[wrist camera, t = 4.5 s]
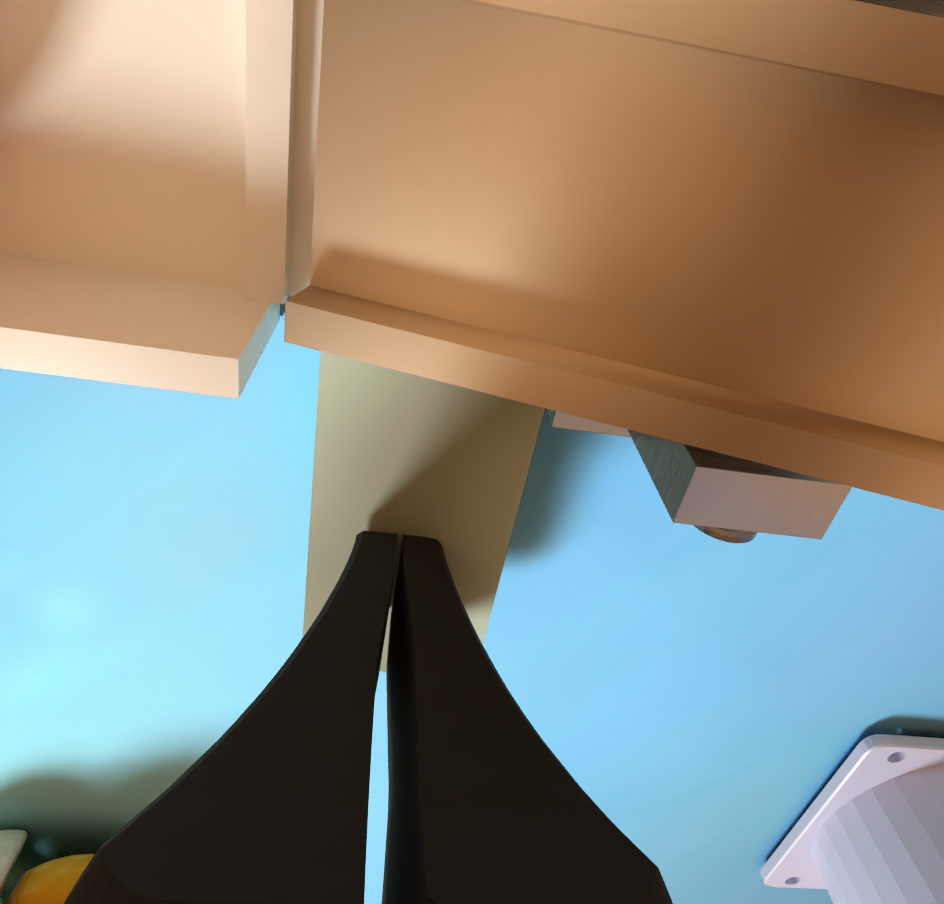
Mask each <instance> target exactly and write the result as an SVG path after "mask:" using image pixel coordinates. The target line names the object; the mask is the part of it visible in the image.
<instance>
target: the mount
mask: <svg viewBox="0 0 944 904" xmlns="http://www.w3.org/2000/svg"><path fill="white" fill-rule="evenodd" d="M854 1H859V2H864V3H869V4H874V5H879V6H885V7H890V8H895V9H900V10H905V11H910V12H915V13H921V14H926V15H931V16H936V17H941V18H944V0H854ZM547 412H548V416H549V419H550V422H551V425H552V427H557V428H565V429H573V430H580V431H588V432H596V433H604V434H611V435H619V436H627V437H631V438H632V440H633V442H634V444H635V446H636V448H637V450H638V452H639V454H640V456H641V458H642V460H643V462H644V464H645V466H646V468H647V470H648V472H649V474H650V477H651V479H652V481H653V483H654V485H655V487H656V489H657V491H658V493H659V495H660V497H661V499H662V501H663V503H664V505H665V507H666V509H667V511H668V513H669V515H670V517H671V519H672V521H673V523H681V524H690V525H694V526H695V527H696V528H697V529H699V530H700V531H702V532H703V533H705V534H707V535H709V536H711V537H713V538H716V539H719V540H722V541H726V542H731V543H745V542H749V541H751V540H753V539H754V538H755V536H756V534H757V532H761V533H770V534H779V535H788V536H797V537H806V538H815V539H822V537H823V536H824V534H825V532H826V531H827V529H828V527H829V525H830V524H831V522H832V520H833V518H834V517H835V515H836V513H837V512H838V510H839V508H840V506H841V505H842V503H843V501H844V500H845V498H846V496H847V494H848V493H849V491H850V489H851V486H847V485H843V484H839V483H835V482H831V481H828V480H824V479H820V478H816V477H812V476H808V475H804V474H800V473H796V472H792V471H788V470H785V469H781V468H777V467H773V466H769V465H765V464H761V463H757V462H753V461H749V460H745V459H742V458H738V457H734V456H730V455H726V454H722V453H718V452H714V451H710V450H706V449H702V448H699V447H695V446H691V445H687V444H683V443H679V442H675V441H671V440H667V439H663V438H659V437H656V436H652V435H648V434H644V433H640V432H636V431H632V430H628V429H624V428H620V427H616V426H613V425H609V424H605V423H601V422H597V421H593V420H589V419H585V418H581V417H577V416H573V415H570V414H566V413H562V412H558V411H554V410H550V409H547Z"/></svg>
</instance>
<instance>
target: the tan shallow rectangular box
mask: <svg viewBox="0 0 944 904" xmlns="http://www.w3.org/2000/svg"><path fill="white" fill-rule="evenodd" d="M323 9H324V0H0V368H3V369H11V370H19V371H27V372H35V373H43V374H50V375H58V376H66V377H74V378H82V379H90V380H98V381H105V382H113V383H121V384H129V385H137V386H145V387H152V388H160V389H168V390H176V391H184V392H192V393H199V394H207V395H215V396H223V397H231V398H239V397H240V395H241V393H242V391H243V389H244V387H245V385H246V383H247V381H248V379H249V378H250V376H251V374H252V372H253V370H254V368H255V366H256V364H257V362H258V360H259V358H260V356H261V354H262V353H263V351H264V349H265V347H266V345H267V343H268V341H269V339H270V337H271V335H272V333H273V331H274V330H275V328H276V326H277V324H278V322H279V320H280V304H283V305H284V303H285V302H286V300H287V298H288V296H290V297H293V296H294V295H296V294H297V293H299V292H300V291H302V290H303V289H305V288H306V287H308V286H309V285H310V266H311V247H312V227H313V207H314V187H315V168H316V148H317V128H318V108H319V88H320V69H321V49H322V29H323Z"/></svg>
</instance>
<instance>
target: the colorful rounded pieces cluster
mask: <svg viewBox="0 0 944 904" xmlns="http://www.w3.org/2000/svg"><path fill="white" fill-rule="evenodd" d="M26 838H27V832H26V831H24V830H16V829H9V830H0V904H1V902H2V899H1V895H2V893H3V891H4V889H5V887H6V880H7V878H8V876H9V874H10V872H11V870H12V868H13V866H14V864H15V862H16V860H17V858H18V856H19V854H20V852H21V850H22V848H23V845H24V843H25V841H26ZM94 855H95V854H80V855H71V856H66V857H62V858H57V859H54V860H51V861H48V862H45V863H43V864H40V865H38V866H36V867H34V868H32V869H29V870H28V871H26V872H25V873H24V874H23V875H22V877H21V878H20V879H19V880H18V882H17V883H16V885H15V887H14V888H13V890H12V892H11V893H10V895H9V897H8V899H7V901H6V902H5V904H64V902H65V900H66V898H67V897H68V895H69V894H70V892H71V890H72V889H73V887H74V885H75V884H76V882H77V880H78V879H79V877H80V876H81V874H82V873H83V871H84V870H85V868H86V867H87V865H88V864H89V862H90V861H91V859H92V858H93V856H94Z"/></svg>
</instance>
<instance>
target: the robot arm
mask: <svg viewBox="0 0 944 904" xmlns="http://www.w3.org/2000/svg"><path fill="white" fill-rule="evenodd" d="M396 562H397V534H393V533H383V532H373V531H362V532H360V533H359V534H357V536H356V540H355V544H354V546H353V549H352V552H351V555H350V557H349V559H348V562H347V564H346V566H345V568H344V570H343V572H342V574H341V576H340V578H339V580H338V582H337V584H336V585H335V587H334V589H333V591H332V592H331V594H330V596H329V598H328V599H327V601H326V603H325V605H324V606H323V608H322V610H321V611H320V613H319V615H318V616H317V618H316V619H315V621H314V622H313V624H312V625H311V627H310V628H309V630H308V631H307V632H306V634H305V635H304V637H303V638H302V640H301V641H300V643H299V644H298V646H297V647H296V649H295V650H294V651H293V653H292V654H291V655H290V657H289V658H288V659H287V661H286V662H285V663H284V665H283V666H282V667H281V669H280V670H279V671H278V673H277V674H276V675H275V676H274V677H273V679H272V680H271V681H270V682H269V684H268V685H267V686H266V687H265V689H264V690H263V691H262V692H261V693H260V695H259V696H258V697H257V698H256V699H255V700H254V701H253V702H252V704H251V705H250V706H249V707H248V708H247V709H246V710H245V712H244V713H243V714H242V715H241V716H240V717H239V718H238V719H237V721H236V722H235V723H234V724H233V725H232V726H231V727H230V728H229V729H228V730H227V731H226V732H225V733H224V734H223V735H222V737H221V738H220V739H219V740H218V741H217V742H216V743H215V744H214V745H213V746H212V747H211V748H210V749H208V750H207V751H206V752H205V753H204V754H203V755H202V756H201V757H200V758H199V759H198V760H197V761H196V762H195V763H194V764H193V765H192V766H191V767H190V768H189V769H188V770H187V771H186V772H185V773H184V774H183V775H182V776H181V777H180V778H179V779H177V780H176V781H175V782H174V783H173V784H172V785H171V786H170V787H169V788H168V789H167V790H166V791H164V792H163V793H162V794H161V795H160V796H159V797H158V798H157V799H155V800H154V801H153V802H152V803H151V804H149V805H148V806H147V807H146V808H145V809H144V810H142V811H141V812H140V813H139V814H138V815H136V816H135V817H134V818H133V819H132V820H131V821H129V822H128V823H127V824H126V825H125V826H124V827H122V828H121V829H120V830H119V831H118V832H116V833H115V834H114V835H113V836H112V837H111V838H109V839H108V840H107V841H106V842H105V843H103V844H102V845H101V846H100V847H99V849H98V850H97V852H96V853H95V855H94V856H93V858H92V859H91V861H90V862H89V864H88V865H87V867H86V868H85V870H84V871H83V873H82V874H81V876H80V877H79V879H78V880H77V882H76V884H75V885H74V887H73V889H72V890H71V892H70V894H69V895H68V897H67V898H66V900H65V902H64V904H364V887H365V862H366V840H367V819H368V799H369V780H370V762H371V745H372V729H373V713H374V698H375V692H376V687H377V681H378V676H379V671H380V665H381V659H382V652H383V646H384V639H385V633H386V626H387V620H388V613H389V607H390V601H391V594H392V588H393V581H394V575H395V568H396ZM386 670H387V723H388V770H389V800H388V823H387V837H386V852H385V867H384V881H383V895H382V904H673V903H672V900H671V898H670V895H669V893H668V890H667V888H666V885H665V883H664V881H663V878H662V876H661V873H660V871H659V869H658V867H657V866H656V865H655V864H654V863H653V862H652V861H651V860H650V859H649V858H648V857H647V856H646V855H645V854H644V853H643V852H642V851H641V850H639V849H638V848H637V847H636V846H635V845H634V844H633V843H632V842H631V841H630V840H629V839H628V838H627V837H626V836H625V835H624V834H623V833H622V832H621V831H620V830H619V829H618V828H617V827H616V826H615V825H614V824H613V823H612V822H611V821H610V819H609V818H608V817H607V816H606V815H605V814H604V813H603V812H602V811H601V810H600V809H599V807H598V806H597V805H596V804H595V803H594V802H593V801H592V800H591V798H590V797H589V796H588V795H587V794H586V793H585V792H584V791H583V790H582V788H581V787H580V786H579V785H578V784H577V782H576V781H575V780H574V779H573V777H572V776H571V775H570V774H569V772H568V771H567V770H566V769H565V767H564V766H563V765H562V764H561V763H560V761H559V760H558V759H557V758H556V756H555V755H554V754H553V753H552V751H551V750H550V749H549V748H548V746H547V745H546V744H545V743H544V741H543V740H542V739H541V737H540V736H539V735H538V733H537V732H536V730H535V729H534V727H533V726H532V725H531V723H530V722H529V720H528V719H527V718H526V716H525V715H524V713H523V712H522V710H521V709H520V707H519V706H518V704H517V703H516V701H515V700H514V698H513V697H512V695H511V694H510V692H509V690H508V689H507V687H506V686H505V684H504V682H503V681H502V679H501V677H500V676H499V674H498V672H497V670H496V669H495V667H494V665H493V663H492V661H491V660H490V658H489V656H488V654H487V652H486V651H485V649H484V647H483V645H482V643H481V641H480V639H479V637H478V635H477V633H476V631H475V629H474V627H473V625H472V623H471V620H470V618H469V616H468V614H467V612H466V610H465V608H464V605H463V603H462V601H461V598H460V596H459V594H458V591H457V589H456V586H455V584H454V581H453V578H452V576H451V573H450V570H449V567H448V564H447V561H446V558H445V555H444V551H443V547H442V545H441V544H440V542H439V541H438V540H437V539H433V538H428V537H422V536H412V535H403V541H402V547H401V554H400V560H399V566H398V573H397V579H396V585H395V592H394V598H393V604H392V611H391V618H390V630H389V642H388V654H387V666H386ZM760 873H761V875H762V878H763V880H764V883H765V884H766V885H768V886H771V887H789V888H818V889H827V890H828V892H829V895H830V897H831V899H832V901H833V903H834V904H944V738H931V737H917V736H902V735H888V734H874V735H871V736H868V737H866V738H864V739H863V740H862V741H861V742H859V744H858V745H857V746H856V747H855V749H854V750H853V751H852V753H851V754H850V755H849V756H848V758H847V759H846V760H845V762H844V763H843V764H842V765H841V767H840V768H839V769H838V771H837V772H836V773H835V774H834V776H833V777H832V778H831V780H830V781H829V782H828V783H827V785H826V786H825V787H824V789H823V790H822V791H821V792H820V794H819V795H818V796H817V798H816V799H815V800H814V801H813V803H812V804H811V805H810V807H809V808H808V809H807V810H806V812H805V813H804V814H803V816H802V817H801V818H800V819H799V821H798V822H797V823H796V825H795V826H794V827H793V828H792V830H791V831H790V832H789V834H788V835H787V836H786V837H785V839H784V840H783V841H782V843H781V844H780V845H779V846H778V848H777V849H776V850H775V852H774V853H773V854H772V855H771V857H770V858H769V859H768V861H767V862H766V863H765V864H764V866H763V867H762V869H761V871H760Z"/></svg>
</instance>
